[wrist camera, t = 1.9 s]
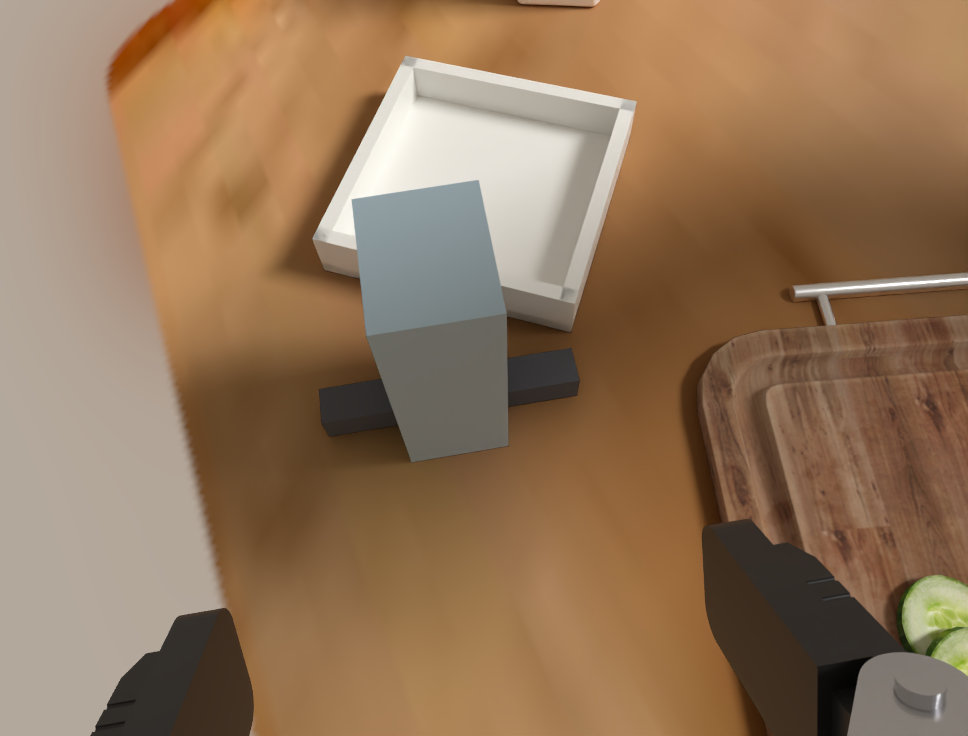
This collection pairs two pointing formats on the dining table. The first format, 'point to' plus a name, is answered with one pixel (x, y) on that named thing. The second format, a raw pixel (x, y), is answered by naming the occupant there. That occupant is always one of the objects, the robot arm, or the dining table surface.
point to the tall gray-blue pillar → (435, 316)
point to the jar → (561, 2)
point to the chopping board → (855, 454)
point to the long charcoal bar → (373, 410)
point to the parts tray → (495, 174)
